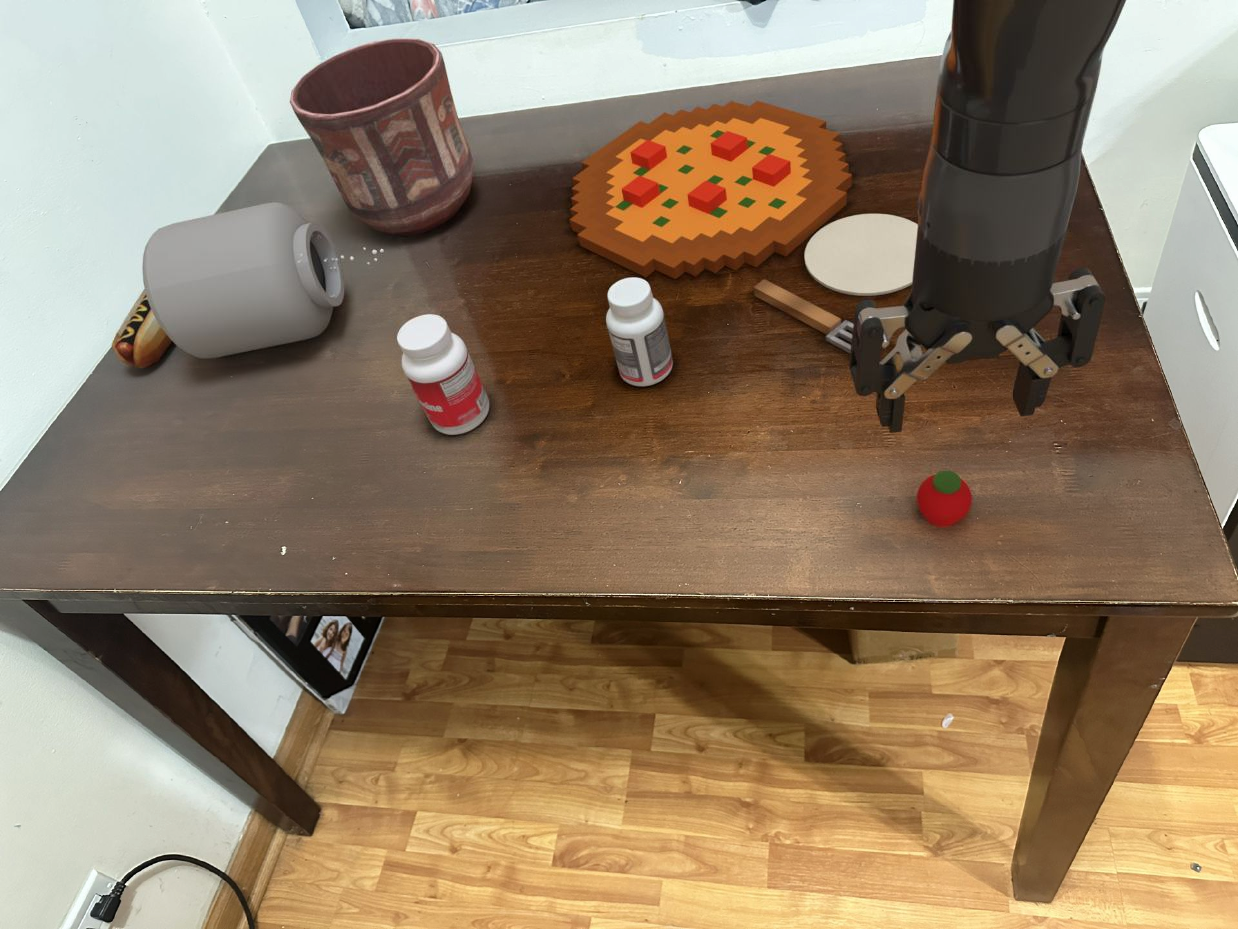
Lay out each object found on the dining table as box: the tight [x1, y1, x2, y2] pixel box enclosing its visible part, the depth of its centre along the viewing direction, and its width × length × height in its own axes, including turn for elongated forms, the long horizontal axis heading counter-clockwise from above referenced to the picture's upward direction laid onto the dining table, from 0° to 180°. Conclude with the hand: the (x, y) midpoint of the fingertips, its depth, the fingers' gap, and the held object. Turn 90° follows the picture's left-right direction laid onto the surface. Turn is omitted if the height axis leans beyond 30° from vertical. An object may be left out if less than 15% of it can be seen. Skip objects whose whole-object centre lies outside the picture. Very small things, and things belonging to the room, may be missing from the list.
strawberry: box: [916, 469, 973, 528], centre depth 67 cm, size 4×4×4 cm
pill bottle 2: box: [605, 276, 674, 387], centre depth 81 cm, size 5×5×10 cm
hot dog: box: [111, 288, 173, 369], centre depth 102 cm, size 5×13×5 cm, turn 176°
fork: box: [753, 278, 887, 354], centre depth 84 cm, size 15×3×1 cm, turn 41°
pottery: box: [289, 37, 474, 237], centre depth 104 cm, size 18×18×18 cm
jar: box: [141, 201, 385, 360], centre depth 94 cm, size 19×15×25 cm
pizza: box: [568, 100, 853, 280], centre depth 101 cm, size 32×32×3 cm
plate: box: [804, 213, 918, 297], centre depth 89 cm, size 13×13×1 cm
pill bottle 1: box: [396, 313, 490, 436], centre depth 82 cm, size 6×6×11 cm
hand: (957, 415), depth 59 cm, fingers open, 8 cm apart
